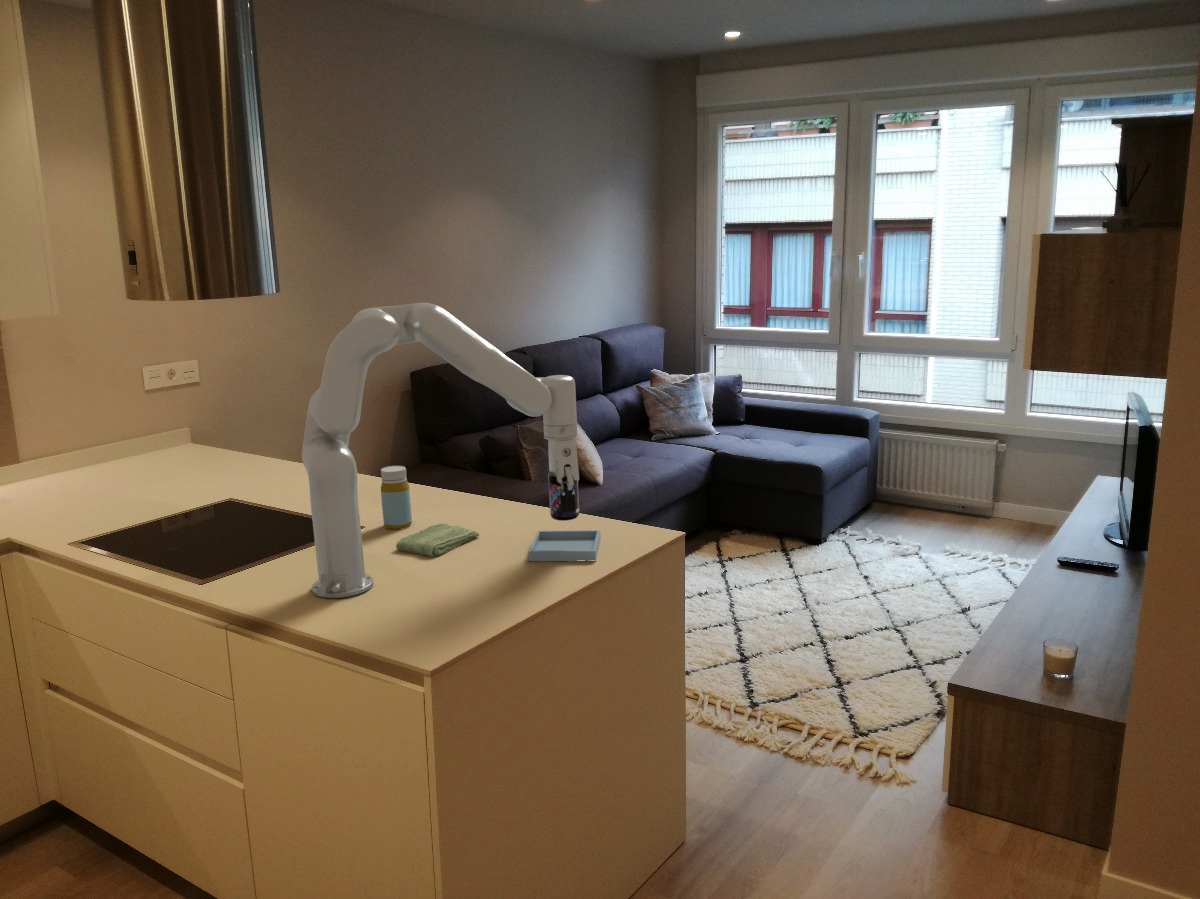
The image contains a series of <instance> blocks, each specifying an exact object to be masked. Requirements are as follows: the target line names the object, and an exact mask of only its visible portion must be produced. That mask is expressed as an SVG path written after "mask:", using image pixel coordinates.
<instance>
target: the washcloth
mask: <svg viewBox="0 0 1200 899" xmlns="http://www.w3.org/2000/svg"><path fill="white" fill-rule="evenodd" d="M479 536H480V533H479V532H478V531H475V530H474V529H470V528H465V527H463V526H461V525H453V526H452V525H450V524H448V523H444V522H442V523H438V524H433V525H431V526H428V527H426V528H424V529H421V530H419V531H418V532H416V533H412V534H409V535H407V536H405V537H403V538H401V539H400V540H398V541H397V542H396V545H395V549H397V551H399V550H401V551H400V552H406V551H407V553H410V552H411V554H418V555H422V556H425V557H431V556H432V557H431V558H435V557H434V556H437V555H439V556H441V555H443V554H446V553H448V552H450V551H452V550H451V549H453V548H455V547H456V548H458V547H460V546H461V544H462V545H463V543H464V544H465V543H467V541H468V542H469V541H472V540H474V539H473V538H475V537H476V538H477V537H479ZM476 538H475V539H476ZM459 545H460V546H459ZM457 546H458V547H457ZM456 548H455V549H456ZM449 550H450V551H449ZM453 550H454V549H453ZM447 551H448V552H447ZM445 552H446V553H445ZM437 557H438V556H437Z"/></svg>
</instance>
